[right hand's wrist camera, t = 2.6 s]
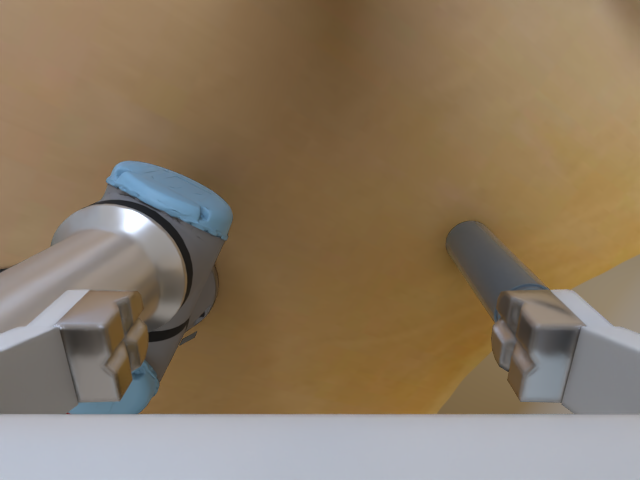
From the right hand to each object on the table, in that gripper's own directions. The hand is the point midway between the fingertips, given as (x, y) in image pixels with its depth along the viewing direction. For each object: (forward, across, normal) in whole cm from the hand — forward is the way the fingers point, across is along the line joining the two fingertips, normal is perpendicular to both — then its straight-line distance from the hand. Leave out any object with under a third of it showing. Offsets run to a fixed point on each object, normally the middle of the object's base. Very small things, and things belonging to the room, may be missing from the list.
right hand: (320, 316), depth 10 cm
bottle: (+48, -20, +18) cm, 55 cm away
